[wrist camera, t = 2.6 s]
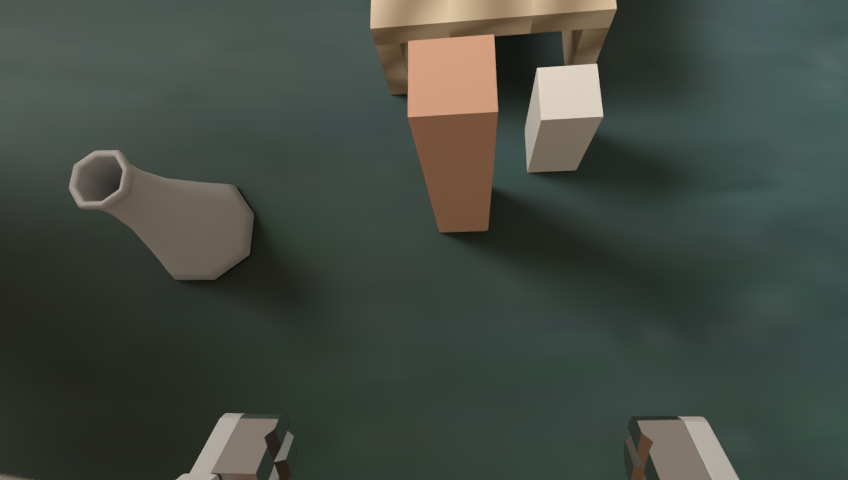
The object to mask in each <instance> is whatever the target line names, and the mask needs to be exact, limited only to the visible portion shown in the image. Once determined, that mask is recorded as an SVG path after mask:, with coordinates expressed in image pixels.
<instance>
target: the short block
mask: <svg viewBox="0 0 848 480" xmlns="http://www.w3.org/2000/svg"><path fill="white" fill-rule="evenodd" d="M602 118H603V109H602V101H601V92H600V84H599V75H598V67H597V64H586V65H571V66H557V67H542V68H537V71H536V76H535V81H534V86H533V90H532V95H531V100H530V105H529V110H528V115H527V120H526V125H525V143H526V158H527V173H529V172H551V171H572V170H577V168H578V166H579V164H580V162H581V160H582V158H583V156H584V154H585V152H586V150H587V148H588V146H589V144H590V142H591V140H592V138H593V136H594V134H595V132H596V130H597V128H598V126H599V124H600V122H601V120H602Z"/></svg>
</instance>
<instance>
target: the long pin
mask: <svg viewBox="0 0 848 480" xmlns="http://www.w3.org/2000/svg"><path fill="white" fill-rule="evenodd" d="M497 119H498V100H497V81H496V61H495V42H494V34H491V35H479V36H466V37H453V38H440V39H427V40H414V41H408V120H409V123H410V127H411V130H412V134H413V138H414V141H415V145H416V149H417V152H418V156H419V160H420V163H421V167H422V170H423V174H424V178H425V181H426V185H427V189H428V192H429V196H430V199H431V203H432V207H433V210H434V214H435V218H436V221H437V225H438V229H439V232H468V231H488V226H489V214H490V202H491V190H492V178H493V166H494V155H495V143H496V131H497Z"/></svg>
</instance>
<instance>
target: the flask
mask: <svg viewBox="0 0 848 480" xmlns="http://www.w3.org/2000/svg"><path fill="white" fill-rule="evenodd" d="M69 190H70V192H71V194H72V196H73V198H74V200H75V202H76V204H77V205H78V207H79V208H81V209H100V210H103V211H105V212H107V213H109V214H112V215H113V216H115V217H116V218H118V219H119V220H120V221H122V222H123V223H124V224H126V225H127V226H128V227H130V228H131V229H133V231H134V232H135V233H136V234H137V235H138V236H139V237H140V238H141V240H142V241H143V242H144V243H145V244H146V245H147V246H148V247H149V249H150V250H151V251H152V252H153V253H154V254H155V256H156V257H157V258H158V259H159V261H160V262H161V263H162V264H163V266H164V267H165V268H166V270H167V271H168V272H169V273H170V274H171V276H172V277H173V278H174V279H175V280H215V279H217V278H218V277H219V276H221V275H222V274H224V273H225V272H226V271H228V270H229V269H231V268H232V267H233V266H235V265H236V264H238V263H239V262H240V261H242V260H243V259H244V258H246V257H247V256H249V255H250V248H251V239H252V230H253V221H254V214H253V212H252V211H251V209H250V208H249V206H248V205H247V203H246V201H245V200H244V198H243V197H242V195H241V194H240V192H239V191H238V189H237V188H236V186H235V185H231V184H219V183H204V182H194V181H185V180H176V179H168V178H164V177H160V176H157V175H154V174H151V173H148V172H144V171H142V170H140V169H138V168H136V167H134V166H133V165H131V164H129V163H128V161H127V159H126V158H125V156H124V154H123V153H122V152H121V151H119V150H103V151H94V152H92V153H91V154H90V155H88V156H87V157H85V158H84V159H82V160H81V161H79V162H78V163H76V164H75V165H74V167H73V171H72V176H71V180H70V185H69Z"/></svg>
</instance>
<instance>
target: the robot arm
mask: <svg viewBox="0 0 848 480" xmlns="http://www.w3.org/2000/svg"><path fill="white" fill-rule="evenodd" d="M289 425H290V423H289V420H288V418H287V415H276V414H248V413H225V414H224V415H223V416H222V417H221V418H220V419H219V421H218V422H217V424H216V426H215V428H214V430H213V432H212V433H211V435H210V437H209V439H208V441H207V443H206V444H205V446H204V448H203V450H202V452H201V453H200V455H199V457H198V459H197V461H196V463H195V464H194V466H193V468H192V470H191V472H190V473H189V474H183V475H181V476H180V477H179V478H177V479H176V480H288V479H289V478H290V477H291V476H292V473H293V470H294V467H295V462H296V454H297V449H296V441H295V438H294V436H293V435H292V434H290V433H289V432H288V428H289ZM628 429H629V432H630V434H631V436H630V437H629V438H627V439H626V440H625V445H624V463H625V467H626V472H627V476H628V479H629V480H739V478H738V476H737V474H736V472H735V470H734V469H733V467H732V465H731V463H730V461H729V460H728V458H727V456H726V454H725V452H724V450H723V449H722V447H721V445H720V443H719V441H718V440H717V438H716V436H715V434H714V432H713V430H712V429H711V427H710V425H709V423H708V421H707V420H706V419H705V418H703V417H677V416H632V417H631V419H630V420H629V425H628Z"/></svg>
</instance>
